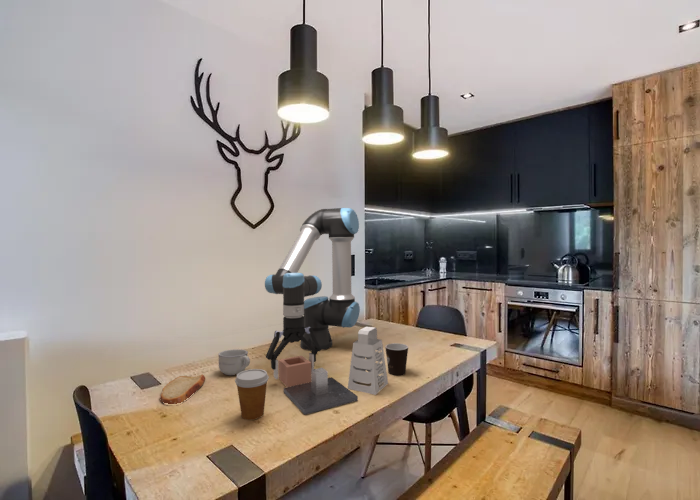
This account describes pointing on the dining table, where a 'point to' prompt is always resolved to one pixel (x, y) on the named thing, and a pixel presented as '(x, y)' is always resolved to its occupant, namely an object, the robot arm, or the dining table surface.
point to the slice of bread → (181, 389)
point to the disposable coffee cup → (252, 392)
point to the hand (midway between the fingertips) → (294, 374)
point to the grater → (367, 362)
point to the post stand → (319, 393)
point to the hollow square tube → (294, 371)
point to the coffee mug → (396, 358)
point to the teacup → (233, 361)
